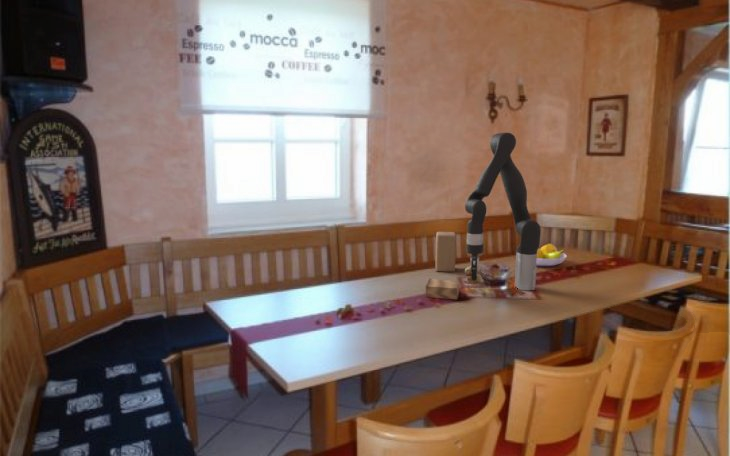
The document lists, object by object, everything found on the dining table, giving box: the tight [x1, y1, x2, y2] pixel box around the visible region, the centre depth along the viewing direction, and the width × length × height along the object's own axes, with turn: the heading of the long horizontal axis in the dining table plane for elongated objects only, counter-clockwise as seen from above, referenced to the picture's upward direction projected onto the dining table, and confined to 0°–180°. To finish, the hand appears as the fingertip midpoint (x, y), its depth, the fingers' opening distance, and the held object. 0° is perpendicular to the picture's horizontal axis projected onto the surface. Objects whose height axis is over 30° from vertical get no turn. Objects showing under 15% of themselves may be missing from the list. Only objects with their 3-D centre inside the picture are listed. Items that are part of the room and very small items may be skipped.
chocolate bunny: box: [464, 264, 484, 285], centre depth 242 cm, size 6×8×10 cm
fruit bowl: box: [536, 243, 568, 267], centre depth 295 cm, size 28×27×11 cm
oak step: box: [425, 277, 460, 300], centre depth 239 cm, size 14×12×5 cm
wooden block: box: [435, 231, 457, 273], centre depth 281 cm, size 10×10×20 cm
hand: (474, 278), depth 243 cm, fingers closed on chocolate bunny, 4 cm apart
